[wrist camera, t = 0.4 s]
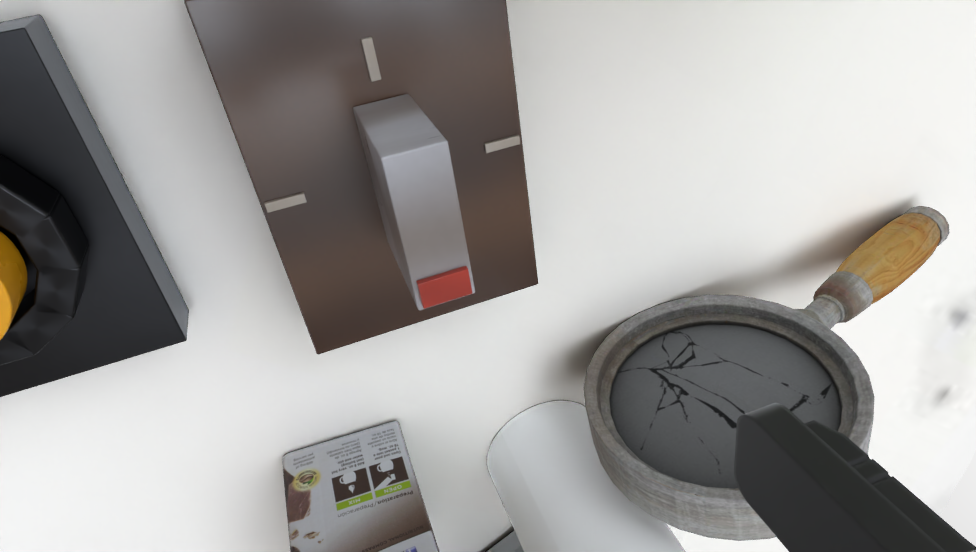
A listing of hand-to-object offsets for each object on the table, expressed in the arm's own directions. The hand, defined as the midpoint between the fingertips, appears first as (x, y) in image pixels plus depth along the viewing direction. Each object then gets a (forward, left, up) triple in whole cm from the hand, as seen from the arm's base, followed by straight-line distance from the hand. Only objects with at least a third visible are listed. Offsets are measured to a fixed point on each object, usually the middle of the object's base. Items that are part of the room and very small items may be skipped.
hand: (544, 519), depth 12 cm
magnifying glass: (+6, +23, -19) cm, 30 cm away
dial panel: (-1, +1, -19) cm, 19 cm away
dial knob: (-1, +1, -15) cm, 16 cm away
